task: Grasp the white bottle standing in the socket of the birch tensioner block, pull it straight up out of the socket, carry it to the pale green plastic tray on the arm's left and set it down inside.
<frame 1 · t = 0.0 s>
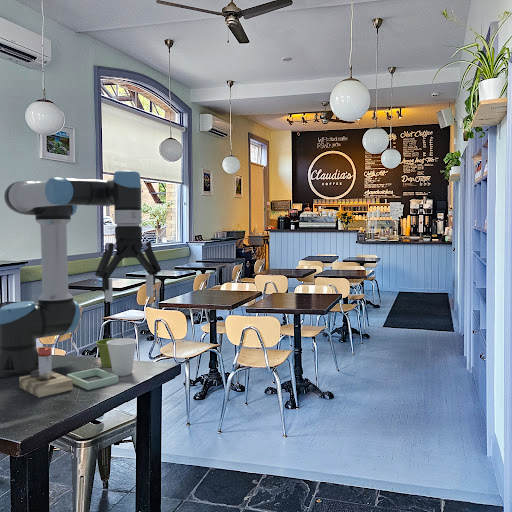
hand: (130, 299, 157), 28 cm above the table, fingers open, 13 cm apart
cup: (122, 374, 180), on the table
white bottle: (45, 388, 162), point 1 cm above the table, touching tensioner block
tensioner block: (46, 391, 162), on the table
plant pot: (110, 366, 192), on the table
tray: (92, 384, 168), on the table
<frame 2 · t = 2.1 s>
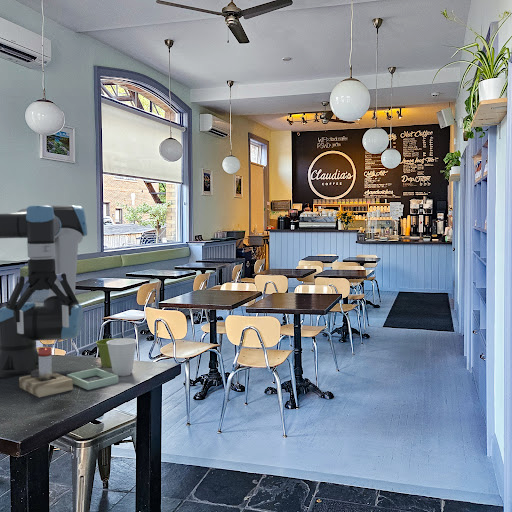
hand: (43, 330, 161), 19 cm above the table, fingers open, 13 cm apart
nothing on the table moved.
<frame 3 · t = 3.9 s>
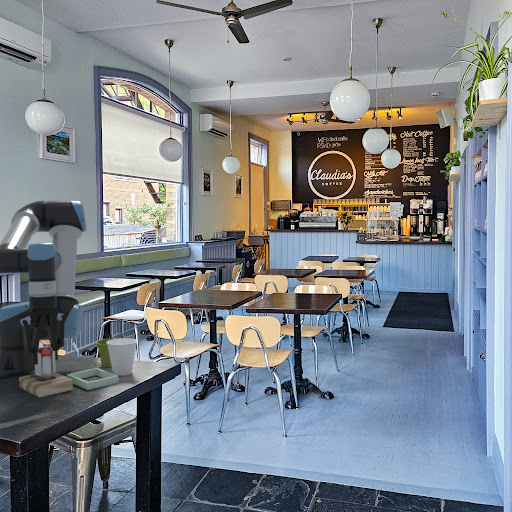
hand: (45, 373, 162), 6 cm above the table, fingers closed on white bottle, 4 cm apart
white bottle: (45, 388, 162), point 1 cm above the table, touching gripper, tensioner block
everything else where it was.
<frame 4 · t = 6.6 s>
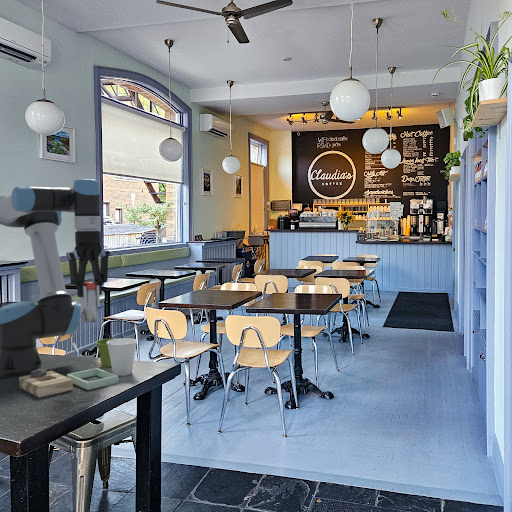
hand: (90, 306, 167), 24 cm above the table, fingers closed on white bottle, 4 cm apart
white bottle: (90, 321, 167), point 20 cm above the table, touching gripper
everything else where it was.
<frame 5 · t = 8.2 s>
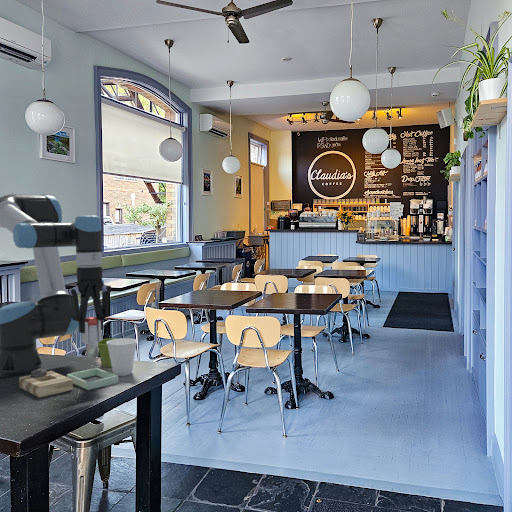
hand: (91, 341, 167), 14 cm above the table, fingers closed on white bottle, 4 cm apart
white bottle: (92, 356, 168), point 9 cm above the table, touching gripper
everything else where it was.
when the fingers open (6 cm above the table, at t = 9.6 s): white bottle stays where it is, resting on tray.
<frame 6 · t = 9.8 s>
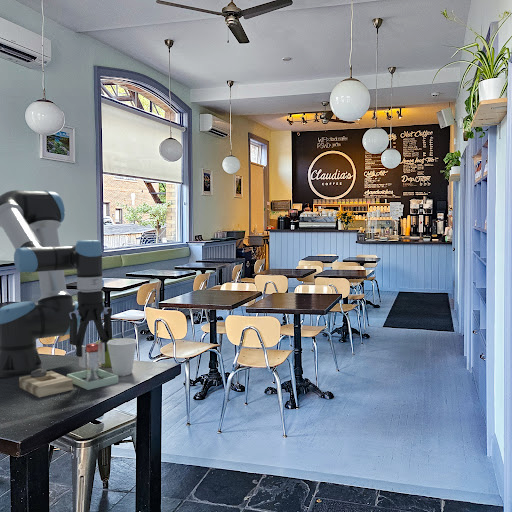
hand: (92, 364, 168), 6 cm above the table, fingers open, 6 cm apart
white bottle: (92, 382, 168), point 1 cm above the table, touching tray
everything else where it was.
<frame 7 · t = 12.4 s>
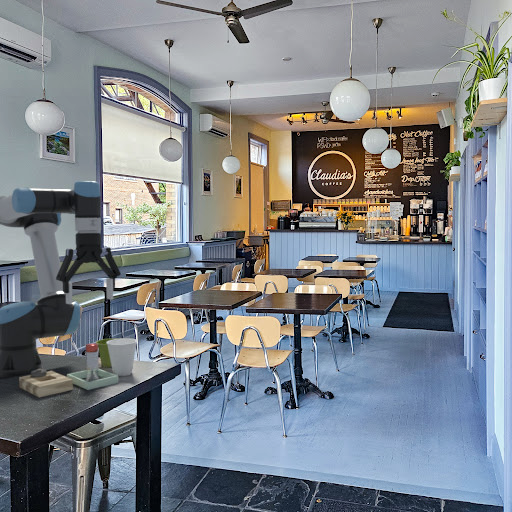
hand: (90, 301, 167), 26 cm above the table, fingers open, 13 cm apart
nothing on the table moved.
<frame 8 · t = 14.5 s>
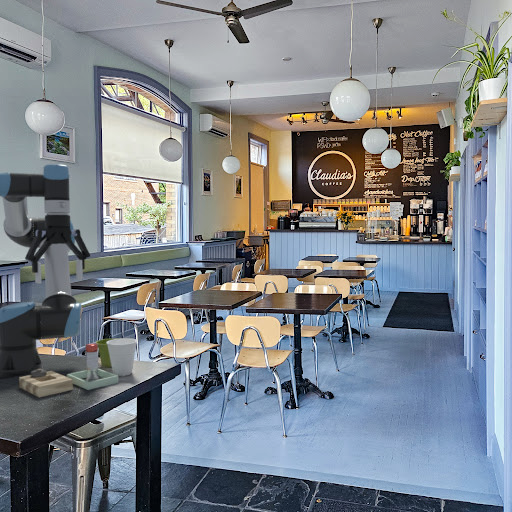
hand: (59, 281, 172), 32 cm above the table, fingers open, 13 cm apart
nothing on the table moved.
at the end: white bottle inside the target area on the tray (0.1 cm from its centre), point 0.6 cm above the tray's base; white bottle moved 13.6 cm from its start; the gripper is holding nothing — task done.
